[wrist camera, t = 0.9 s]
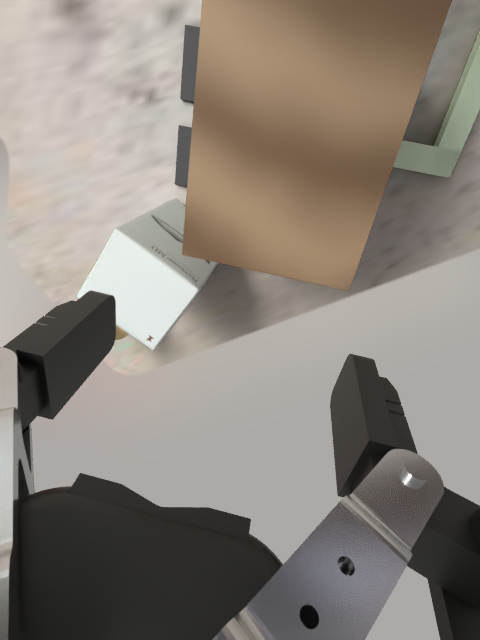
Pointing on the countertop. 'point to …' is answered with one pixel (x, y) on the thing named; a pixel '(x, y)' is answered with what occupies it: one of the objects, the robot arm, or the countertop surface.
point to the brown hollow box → (300, 128)
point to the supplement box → (149, 273)
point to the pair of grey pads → (188, 94)
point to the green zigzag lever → (448, 126)
